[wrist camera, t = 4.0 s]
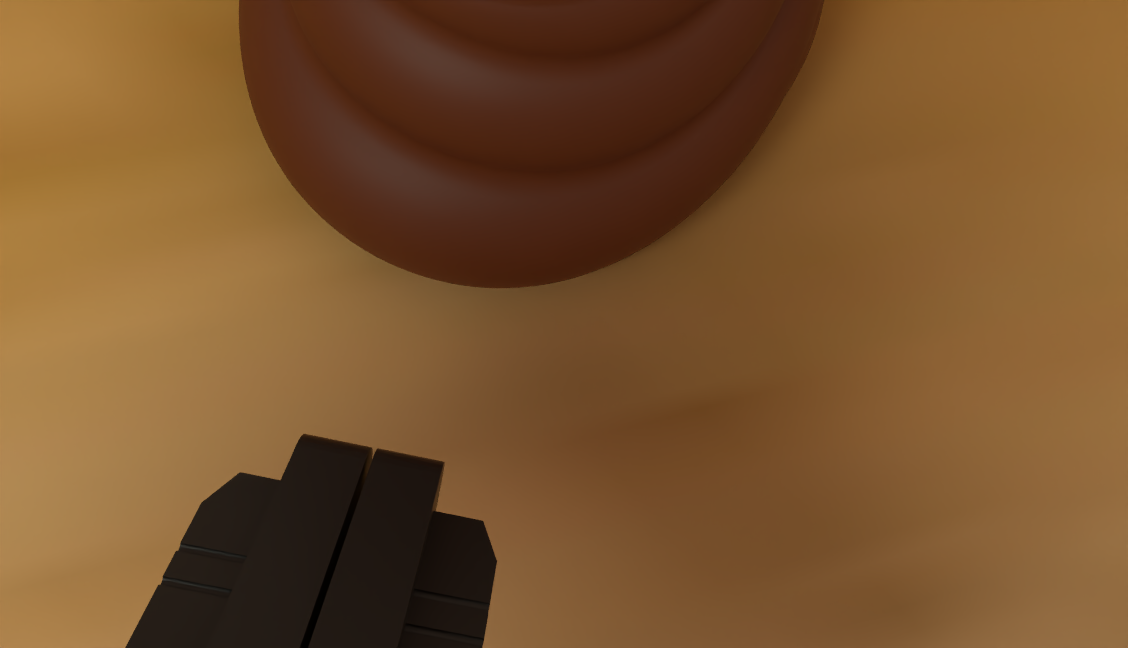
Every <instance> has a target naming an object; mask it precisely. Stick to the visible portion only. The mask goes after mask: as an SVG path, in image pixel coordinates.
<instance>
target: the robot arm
mask: <svg viewBox="0 0 1128 648" xmlns="http://www.w3.org/2000/svg"><path fill="white" fill-rule="evenodd" d="M372 454H373V450H372V448H371V447H367V446H362V445H357V444H352V443H347V442H342V441H337V440H332V439H327V438H322V437H318V436H313V435H308V434H303V435H302V436H301V437H300V439H299V441H298V443H297V445H296V447H295V449H294V452H293V454H292V456H291V458H290V461H289V463H288V465H287V467H286V470H285V472H284V474H283V476H282V479H281V481H280V480H275V479H270V478H266V477H261V476H256V475H251V474H246V473H241V472H240V473H239V474H237V475H236V476H235V477H234V478H232V479H231V480H230V481H228V482H227V483H226V484H225V485H223V486H222V487H221V488H220V489H218V490H217V491H216V492H215V493H213V494H212V495H211V496H209V497H208V498H207V499H206V500H204V501H203V502H202V503H201V505H200V507H199V509H198V510H197V512H196V514H195V516H194V518H193V520H192V522H191V524H190V526H189V528H188V529H187V531H186V533H185V535H184V537H183V539H182V541H181V543H180V548H179V550H178V551H176V552H175V554H174V556H173V558H172V560H171V562H170V564H169V566H168V568H167V569H166V571H165V573H164V575H163V580H162V583H161V585H158V587H157V588H156V590H155V592H154V594H153V596H152V598H151V600H150V602H149V604H148V606H147V608H146V609H145V611H144V613H143V615H142V617H141V619H140V621H139V623H138V625H137V627H136V628H135V630H134V632H133V634H132V636H131V638H130V640H129V642H128V644H127V646H126V647H125V648H483V647H482V646H483V641H484V636H485V630H486V624H487V618H488V610H489V605H490V599H491V593H492V587H493V581H494V575H495V569H496V563H497V560H496V557H495V554H494V551H493V549H492V546H491V543H490V540H489V537H488V534H487V531H486V528H485V525H484V522H483V521H481V520H476V519H471V518H466V517H461V516H456V515H451V514H446V513H441V512H436V507H437V502H438V497H439V491H440V486H441V481H442V476H443V470H444V463H445V462H442V461H437V460H432V459H427V458H422V457H417V456H412V455H407V454H403V453H398V452H393V451H388V450H383V449H377V450H376V452H375V454H374V456H373V459H372Z"/></svg>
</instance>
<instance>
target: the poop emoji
mask: <svg viewBox="0 0 1128 648" xmlns="http://www.w3.org/2000/svg"><path fill="white" fill-rule="evenodd" d="M823 2H824V0H239V31H240V46H241V55H242V62H243V69H244V74H245V80H246V84H247V88H248V92H249V96H250V100H251V103H252V107H253V110H254V113H255V116H256V118H257V121H258V124H259V126H260V129H261V131H262V133H263V136H264V138H265V140H266V142H267V144H268V146H269V148H270V150H271V152H272V154H273V156H274V158H275V159H276V161H277V163H278V164H279V166H280V167H281V169H282V171H283V172H284V174H285V175H286V177H287V178H288V180H289V181H290V182H291V184H292V185H293V186H294V188H295V189H296V190H297V191H298V193H299V194H300V195H301V196H302V197H303V198H304V200H305V201H306V202H307V203H308V204H309V205H310V206H311V207H312V208H313V209H314V210H315V211H316V212H317V213H318V214H319V215H320V216H321V217H322V218H323V219H324V220H325V221H326V222H327V223H328V224H330V225H331V226H332V227H333V228H334V229H336V230H337V231H338V232H339V233H341V234H342V235H343V236H345V237H346V238H348V239H349V240H350V241H352V242H353V243H355V244H356V245H358V246H359V247H361V248H363V249H364V250H366V251H368V252H369V253H371V254H373V255H374V256H376V257H378V258H380V259H382V260H384V261H386V262H388V263H390V264H393V265H395V266H397V267H399V268H402V269H404V270H407V271H410V272H412V273H415V274H418V275H421V276H424V277H428V278H431V279H435V280H439V281H443V282H448V283H452V284H458V285H465V286H473V287H485V288H516V287H528V286H537V285H544V284H550V283H555V282H559V281H564V280H567V279H571V278H575V277H578V276H581V275H584V274H587V273H590V272H593V271H596V270H598V269H601V268H604V267H606V266H608V265H611V264H613V263H615V262H618V261H620V260H622V259H624V258H626V257H628V256H630V255H632V254H633V253H635V252H637V251H639V250H640V249H642V248H644V247H646V246H647V245H649V244H651V243H652V242H654V241H655V240H657V239H659V238H660V237H661V236H663V235H664V234H666V233H667V232H669V231H670V230H671V229H673V228H674V227H675V226H677V225H678V224H679V223H681V222H682V221H683V220H684V219H686V218H687V217H688V216H689V215H690V214H692V213H693V212H694V211H695V210H696V209H698V208H699V207H700V206H701V205H702V204H703V203H704V202H705V201H706V200H707V199H708V198H709V197H710V196H711V195H712V194H713V193H714V192H715V191H716V190H717V189H718V188H719V187H720V186H721V185H722V184H723V183H724V182H725V181H726V180H727V179H728V178H729V176H730V175H731V174H732V173H733V172H734V171H735V170H736V168H737V167H738V166H739V165H740V164H741V162H742V161H743V160H744V158H745V157H746V156H747V155H748V153H749V152H750V151H751V149H752V148H753V146H754V145H755V144H756V142H757V141H758V139H759V138H760V136H761V135H762V133H763V132H764V130H765V129H766V127H767V126H768V124H769V123H770V121H771V119H772V118H773V116H774V114H775V112H776V111H777V109H778V107H779V106H780V104H781V102H782V100H783V98H784V96H785V95H786V93H787V92H788V90H789V89H790V87H791V85H792V84H793V82H794V80H795V79H796V77H797V75H798V73H799V71H800V69H801V68H802V65H803V63H804V61H805V59H806V57H807V55H808V52H809V50H810V47H811V45H812V42H813V39H814V36H815V33H816V30H817V27H818V23H819V20H820V16H821V11H822V7H823Z"/></svg>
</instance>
